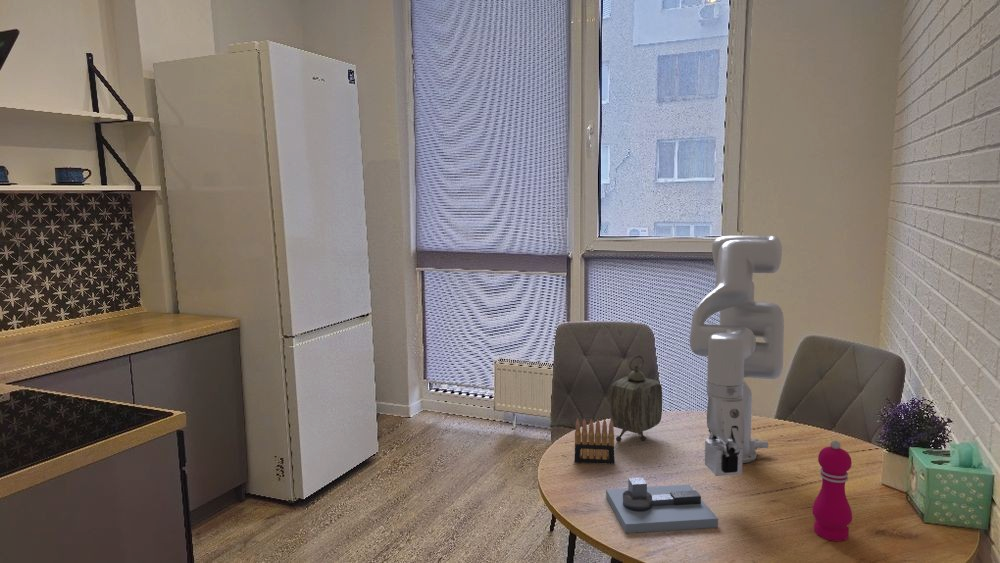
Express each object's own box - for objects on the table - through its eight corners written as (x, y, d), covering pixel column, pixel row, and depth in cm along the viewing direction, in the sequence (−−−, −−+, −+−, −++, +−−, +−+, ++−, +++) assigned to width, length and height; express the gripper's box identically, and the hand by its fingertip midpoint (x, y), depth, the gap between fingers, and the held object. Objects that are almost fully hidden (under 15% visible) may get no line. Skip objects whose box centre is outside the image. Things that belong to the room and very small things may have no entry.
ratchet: (692, 494, 141) (693, 471, 140) (704, 507, 135) (704, 483, 134) (619, 498, 140) (619, 475, 139) (627, 512, 133) (627, 488, 133)
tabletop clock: (637, 428, 188) (638, 349, 185) (663, 436, 181) (664, 353, 178) (609, 442, 178) (609, 358, 175) (636, 450, 171) (637, 363, 168)
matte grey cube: (729, 462, 142) (730, 437, 142) (742, 474, 137) (742, 448, 136) (704, 464, 142) (705, 439, 141) (716, 476, 136) (716, 450, 135)
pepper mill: (804, 525, 130) (808, 435, 128) (836, 523, 131) (841, 433, 128) (824, 544, 123) (829, 448, 121) (859, 541, 124) (864, 446, 121)
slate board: (688, 492, 146) (688, 484, 146) (717, 527, 130) (718, 518, 130) (606, 497, 144) (606, 489, 144) (625, 533, 129) (625, 524, 128)
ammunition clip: (614, 461, 164) (614, 418, 163) (614, 464, 163) (615, 420, 161) (574, 459, 166) (574, 417, 165) (574, 462, 164) (574, 419, 163)
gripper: (760, 401, 128) (758, 481, 131) (724, 376, 145) (722, 447, 148) (726, 403, 128) (724, 484, 130) (693, 378, 145) (692, 450, 147)
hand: (723, 464), depth 139 cm, fingers closed on matte grey cube, 6 cm apart
